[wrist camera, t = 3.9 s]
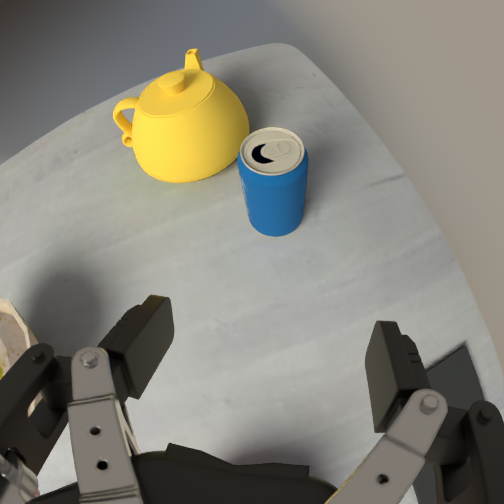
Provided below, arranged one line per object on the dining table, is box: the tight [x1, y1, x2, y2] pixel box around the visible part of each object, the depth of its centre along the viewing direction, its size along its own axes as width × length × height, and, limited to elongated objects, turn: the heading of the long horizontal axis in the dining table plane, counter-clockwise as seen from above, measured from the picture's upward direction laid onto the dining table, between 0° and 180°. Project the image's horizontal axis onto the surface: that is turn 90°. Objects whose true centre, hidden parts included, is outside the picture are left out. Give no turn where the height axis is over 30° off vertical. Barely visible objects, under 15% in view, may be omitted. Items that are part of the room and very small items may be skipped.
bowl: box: [0, 298, 42, 417], centre depth 27 cm, size 19×19×10 cm
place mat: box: [412, 346, 484, 504], centre depth 24 cm, size 18×12×1 cm, turn 21°
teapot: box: [113, 49, 249, 183], centre depth 37 cm, size 20×19×13 cm
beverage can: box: [237, 127, 309, 237], centre depth 31 cm, size 6×6×12 cm
